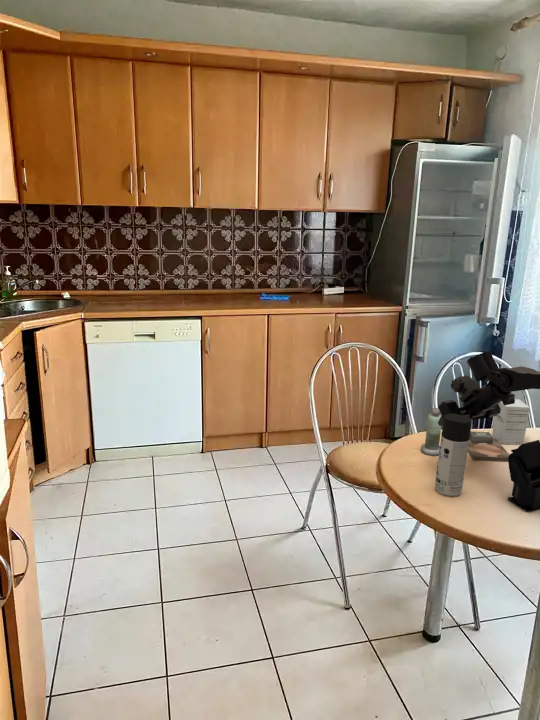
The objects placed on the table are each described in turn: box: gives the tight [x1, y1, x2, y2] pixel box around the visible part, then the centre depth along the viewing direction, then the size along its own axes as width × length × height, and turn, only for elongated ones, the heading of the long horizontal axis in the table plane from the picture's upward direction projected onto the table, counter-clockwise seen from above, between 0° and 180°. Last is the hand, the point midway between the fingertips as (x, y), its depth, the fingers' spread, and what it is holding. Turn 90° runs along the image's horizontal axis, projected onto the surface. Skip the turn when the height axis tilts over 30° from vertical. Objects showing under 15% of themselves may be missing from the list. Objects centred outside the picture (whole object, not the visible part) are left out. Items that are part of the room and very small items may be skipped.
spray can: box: [434, 414, 473, 498], centre depth 139 cm, size 7×7×20 cm
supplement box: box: [491, 398, 531, 446], centre depth 173 cm, size 7×7×13 cm
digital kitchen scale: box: [467, 430, 511, 463], centre depth 166 cm, size 14×11×4 cm
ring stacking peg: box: [420, 407, 442, 457], centre depth 163 cm, size 6×6×14 cm
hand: (451, 421), depth 156 cm, fingers open, 9 cm apart
